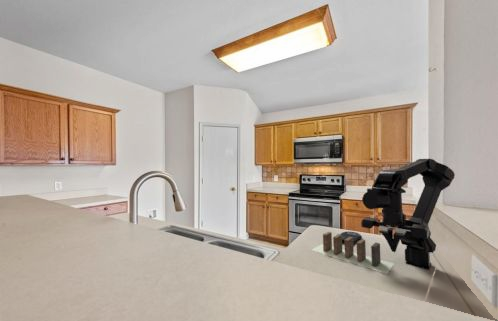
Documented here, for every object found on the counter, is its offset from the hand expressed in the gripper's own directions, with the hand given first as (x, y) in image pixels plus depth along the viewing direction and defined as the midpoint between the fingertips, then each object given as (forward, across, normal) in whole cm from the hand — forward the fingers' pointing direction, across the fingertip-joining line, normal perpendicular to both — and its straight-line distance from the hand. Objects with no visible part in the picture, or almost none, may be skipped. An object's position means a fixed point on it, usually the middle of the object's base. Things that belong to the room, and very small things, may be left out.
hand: (393, 251), depth 72 cm
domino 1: (+6, +24, 0) cm, 25 cm away
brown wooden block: (+6, +11, 0) cm, 12 cm away
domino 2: (+6, +20, 0) cm, 20 cm away
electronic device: (+7, +23, -19) cm, 30 cm away
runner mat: (+6, +15, 0) cm, 16 cm away
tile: (+6, +6, 0) cm, 8 cm away
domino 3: (+6, +15, 0) cm, 16 cm away
